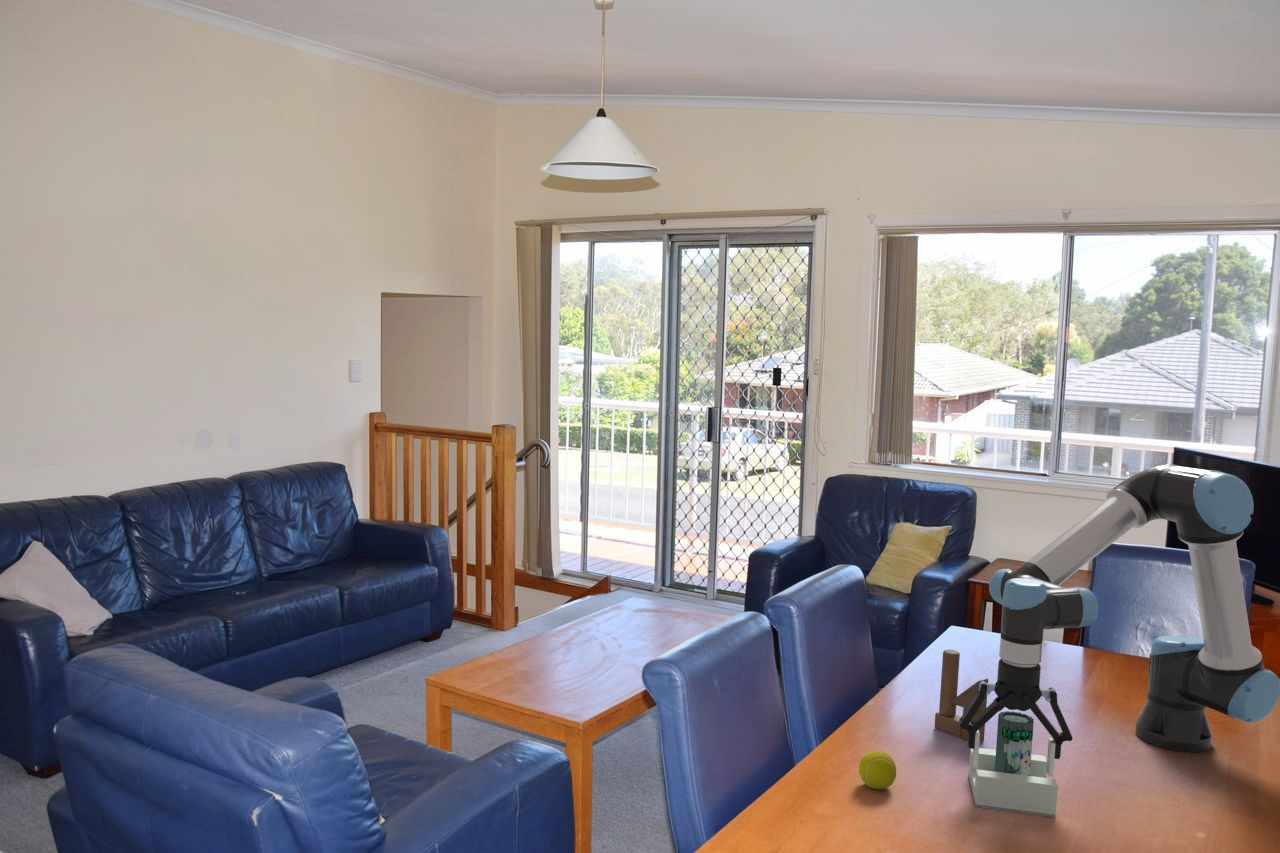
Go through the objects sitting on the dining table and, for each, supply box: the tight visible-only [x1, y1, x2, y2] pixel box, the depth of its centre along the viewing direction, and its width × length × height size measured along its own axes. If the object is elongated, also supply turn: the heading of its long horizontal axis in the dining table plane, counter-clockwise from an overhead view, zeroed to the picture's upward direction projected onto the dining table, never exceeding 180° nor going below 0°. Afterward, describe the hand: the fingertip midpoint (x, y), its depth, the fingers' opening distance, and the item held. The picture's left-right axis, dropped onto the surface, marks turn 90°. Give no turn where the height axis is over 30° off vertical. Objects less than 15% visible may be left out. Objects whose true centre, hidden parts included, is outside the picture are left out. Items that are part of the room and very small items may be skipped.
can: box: [995, 710, 1035, 776], centre depth 193 cm, size 6×6×15 cm
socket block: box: [967, 747, 1059, 818], centre depth 193 cm, size 14×14×6 cm
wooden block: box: [934, 649, 989, 744], centre depth 222 cm, size 4×11×18 cm, turn 36°
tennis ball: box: [858, 750, 897, 790], centre depth 195 cm, size 7×7×7 cm
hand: (1011, 769), depth 193 cm, fingers open, 13 cm apart
